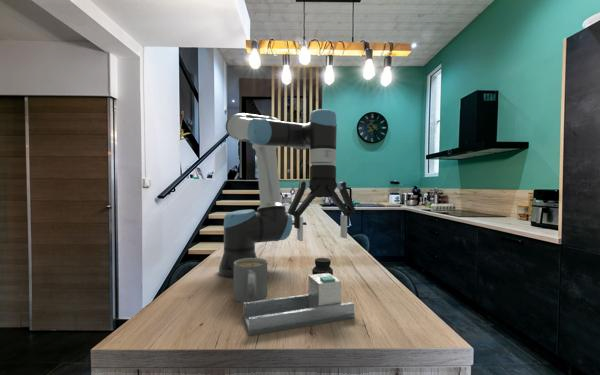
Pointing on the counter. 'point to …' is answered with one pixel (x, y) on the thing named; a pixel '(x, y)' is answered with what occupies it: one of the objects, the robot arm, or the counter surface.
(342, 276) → the counter surface
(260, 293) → the coffee mug
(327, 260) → the pill bottle
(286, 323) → the rail
